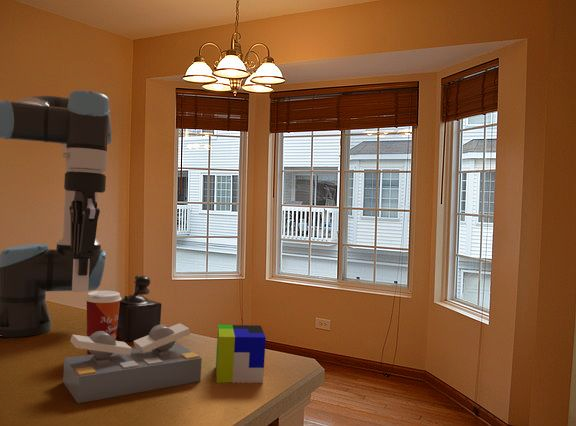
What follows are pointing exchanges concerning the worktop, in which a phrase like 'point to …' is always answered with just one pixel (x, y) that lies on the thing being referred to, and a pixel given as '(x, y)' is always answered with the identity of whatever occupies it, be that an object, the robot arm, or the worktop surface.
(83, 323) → the worktop surface
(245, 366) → the puzzle toy
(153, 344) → the rocker right
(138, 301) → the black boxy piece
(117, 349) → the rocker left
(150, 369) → the console
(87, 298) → the coffee cup
